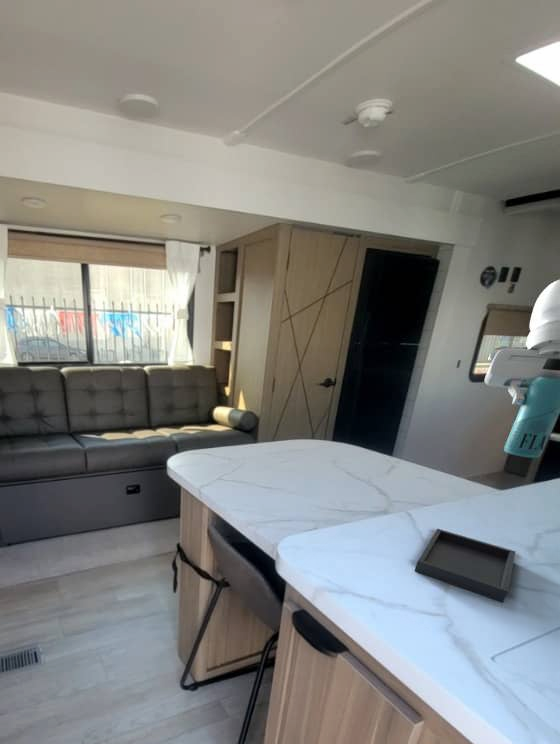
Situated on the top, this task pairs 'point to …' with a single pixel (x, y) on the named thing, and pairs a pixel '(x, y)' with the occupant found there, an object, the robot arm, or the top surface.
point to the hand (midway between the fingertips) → (542, 405)
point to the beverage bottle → (536, 415)
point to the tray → (468, 564)
